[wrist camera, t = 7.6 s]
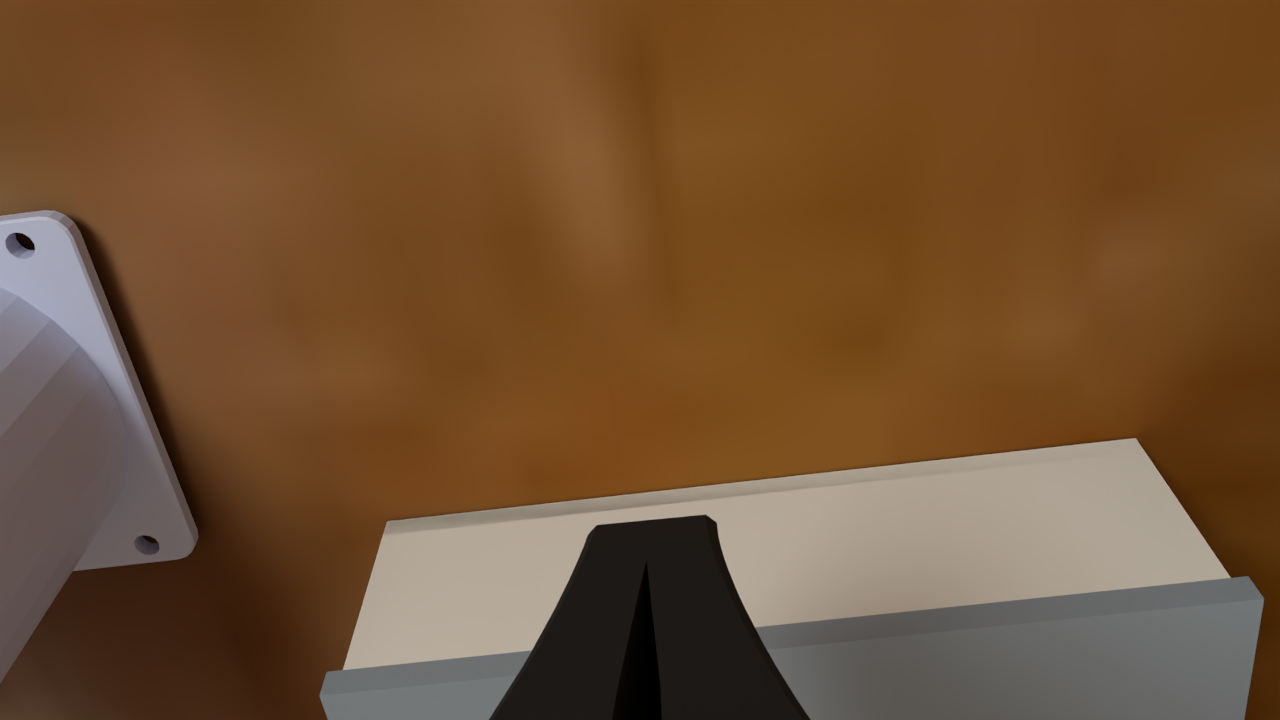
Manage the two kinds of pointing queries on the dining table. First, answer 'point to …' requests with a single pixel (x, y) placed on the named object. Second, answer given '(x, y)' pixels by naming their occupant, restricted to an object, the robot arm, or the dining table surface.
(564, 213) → the dining table surface
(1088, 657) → the lid
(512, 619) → the box
